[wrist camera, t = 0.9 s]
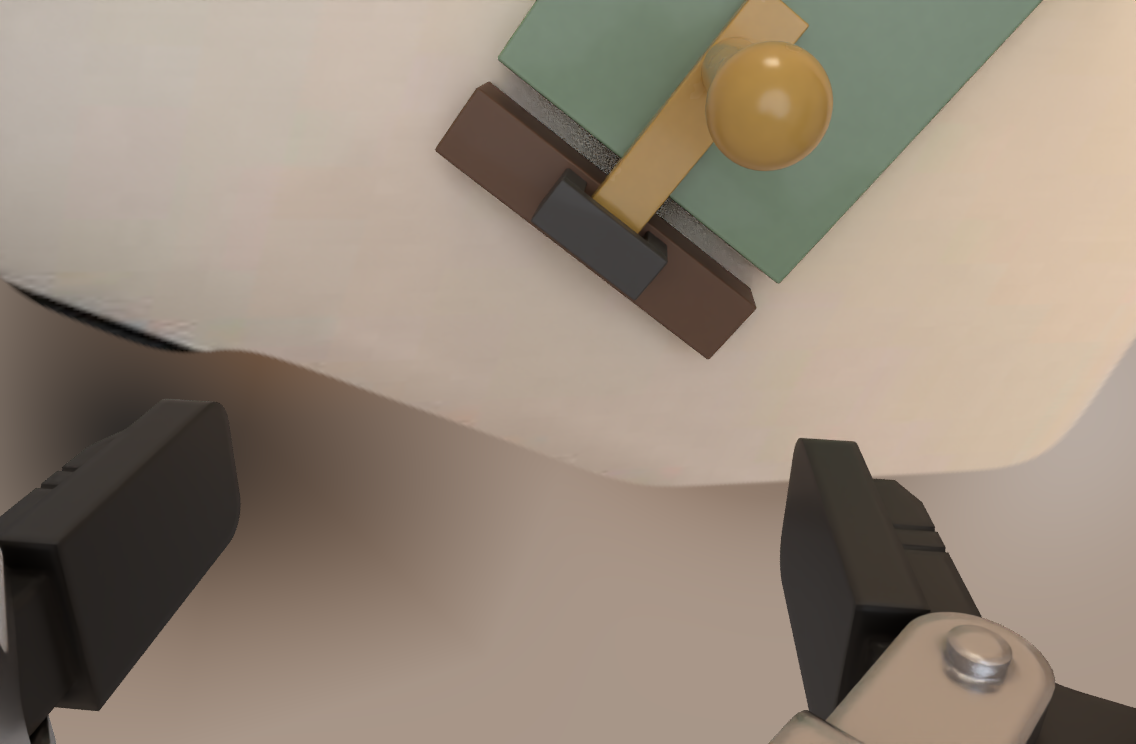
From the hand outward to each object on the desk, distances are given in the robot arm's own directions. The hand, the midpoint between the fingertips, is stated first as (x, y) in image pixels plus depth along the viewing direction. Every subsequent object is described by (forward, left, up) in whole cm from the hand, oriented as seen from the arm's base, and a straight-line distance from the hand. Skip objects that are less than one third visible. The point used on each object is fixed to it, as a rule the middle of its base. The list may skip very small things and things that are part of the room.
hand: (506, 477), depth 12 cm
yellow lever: (-1, -3, -23) cm, 24 cm away
